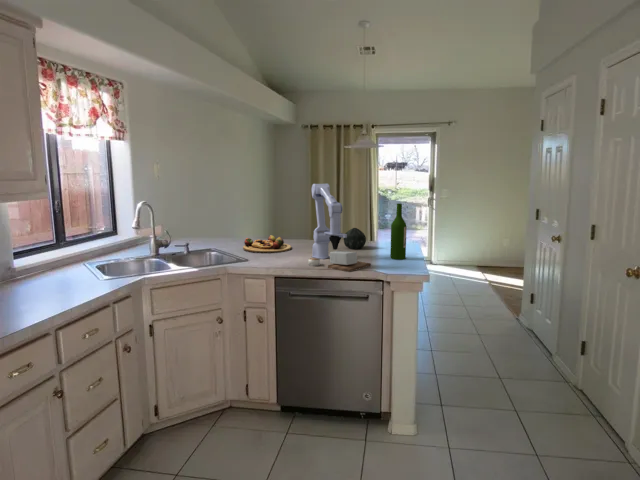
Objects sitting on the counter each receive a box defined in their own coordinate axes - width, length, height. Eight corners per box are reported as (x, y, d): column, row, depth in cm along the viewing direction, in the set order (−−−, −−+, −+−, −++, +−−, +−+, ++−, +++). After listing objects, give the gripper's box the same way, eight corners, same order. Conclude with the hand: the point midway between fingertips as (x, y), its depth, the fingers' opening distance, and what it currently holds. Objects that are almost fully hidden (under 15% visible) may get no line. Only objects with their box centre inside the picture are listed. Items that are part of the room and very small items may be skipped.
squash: (356, 237, 314) (347, 222, 306) (373, 240, 304) (363, 225, 295) (345, 252, 309) (335, 238, 300) (361, 256, 298) (352, 241, 290)
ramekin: (305, 265, 251) (305, 258, 251) (313, 263, 256) (313, 257, 256) (314, 266, 247) (314, 260, 247) (322, 264, 252) (322, 258, 251)
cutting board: (328, 268, 244) (328, 265, 244) (350, 262, 259) (350, 259, 258) (348, 271, 235) (348, 269, 235) (370, 265, 250) (370, 262, 249)
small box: (329, 263, 249) (346, 265, 240) (329, 252, 249) (346, 253, 239) (340, 261, 255) (357, 263, 245) (340, 250, 254) (356, 251, 244)
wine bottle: (405, 260, 264) (407, 204, 259) (390, 259, 266) (391, 204, 261) (405, 257, 273) (407, 203, 268) (390, 256, 274) (391, 202, 269)
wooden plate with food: (234, 252, 291) (234, 239, 290) (255, 243, 321) (255, 232, 320) (280, 256, 282) (280, 243, 280) (298, 247, 312) (298, 235, 310)
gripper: (320, 224, 251) (320, 248, 254) (341, 226, 242) (341, 251, 244) (328, 223, 257) (328, 247, 259) (349, 225, 247) (349, 250, 249)
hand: (335, 249), depth 252 cm, fingers closed
